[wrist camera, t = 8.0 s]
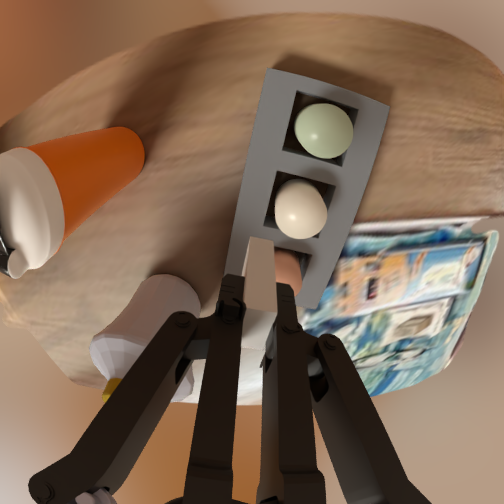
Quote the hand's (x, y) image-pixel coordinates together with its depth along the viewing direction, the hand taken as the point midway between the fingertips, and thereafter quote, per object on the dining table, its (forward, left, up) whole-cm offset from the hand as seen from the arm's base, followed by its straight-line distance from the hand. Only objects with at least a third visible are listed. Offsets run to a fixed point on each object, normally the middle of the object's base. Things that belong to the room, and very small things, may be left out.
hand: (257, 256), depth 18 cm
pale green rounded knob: (+4, +8, -12) cm, 15 cm away
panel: (+4, 0, -13) cm, 14 cm away
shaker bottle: (-17, +1, -14) cm, 22 cm away
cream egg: (+4, 0, -12) cm, 12 cm away
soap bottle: (-9, -18, -14) cm, 24 cm away
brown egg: (+4, -8, -12) cm, 14 cm away
